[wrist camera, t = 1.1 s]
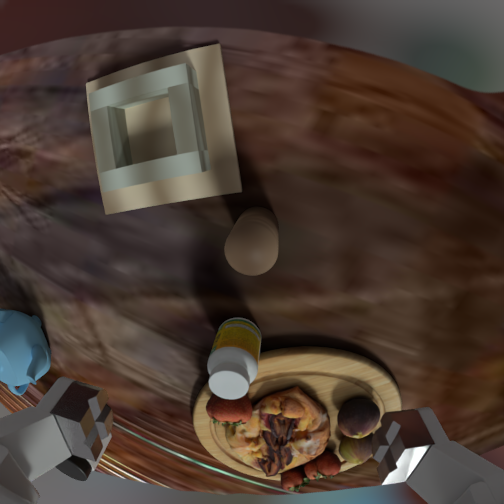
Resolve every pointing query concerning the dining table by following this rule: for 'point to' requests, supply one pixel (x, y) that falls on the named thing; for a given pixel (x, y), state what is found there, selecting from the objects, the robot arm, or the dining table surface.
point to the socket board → (164, 131)
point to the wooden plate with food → (299, 415)
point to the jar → (81, 464)
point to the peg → (253, 242)
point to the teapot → (22, 350)
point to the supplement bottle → (234, 358)
